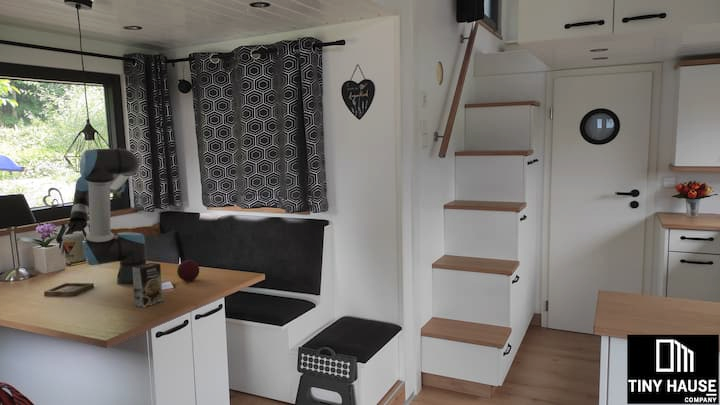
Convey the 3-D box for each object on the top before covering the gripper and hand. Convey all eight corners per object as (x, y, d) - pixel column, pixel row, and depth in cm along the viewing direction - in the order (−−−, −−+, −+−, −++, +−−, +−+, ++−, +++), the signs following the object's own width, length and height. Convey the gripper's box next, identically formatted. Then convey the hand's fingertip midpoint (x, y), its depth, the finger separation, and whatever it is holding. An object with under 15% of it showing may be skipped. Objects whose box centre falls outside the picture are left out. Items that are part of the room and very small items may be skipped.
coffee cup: (59, 261, 251) (57, 236, 249) (76, 257, 259) (74, 232, 258) (74, 262, 247) (71, 236, 246) (91, 258, 256) (88, 233, 254)
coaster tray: (93, 287, 246) (93, 283, 246) (73, 296, 232) (73, 291, 232) (65, 287, 248) (65, 282, 248) (44, 295, 234) (44, 291, 234)
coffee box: (144, 308, 214) (141, 268, 212) (134, 305, 217) (131, 266, 215) (163, 301, 221) (160, 263, 219) (153, 299, 225) (150, 262, 223)
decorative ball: (198, 282, 249) (197, 262, 248) (176, 284, 248) (174, 263, 247) (201, 277, 259) (200, 257, 258) (179, 278, 258) (178, 258, 257)
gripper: (104, 218, 269) (99, 256, 255) (57, 221, 264) (49, 259, 250) (101, 209, 263) (95, 247, 249) (53, 211, 258) (44, 250, 244)
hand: (72, 253), depth 250 cm, fingers closed on coffee cup, 9 cm apart
